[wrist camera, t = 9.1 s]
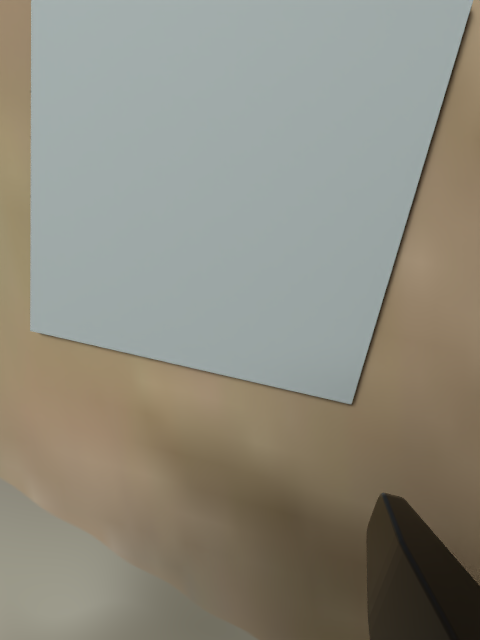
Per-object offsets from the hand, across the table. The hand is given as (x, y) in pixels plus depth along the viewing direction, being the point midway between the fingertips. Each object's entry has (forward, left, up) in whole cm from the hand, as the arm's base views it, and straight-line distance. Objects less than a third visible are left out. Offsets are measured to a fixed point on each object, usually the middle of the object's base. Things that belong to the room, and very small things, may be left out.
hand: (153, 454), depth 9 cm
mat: (+2, -4, -12) cm, 13 cm away
